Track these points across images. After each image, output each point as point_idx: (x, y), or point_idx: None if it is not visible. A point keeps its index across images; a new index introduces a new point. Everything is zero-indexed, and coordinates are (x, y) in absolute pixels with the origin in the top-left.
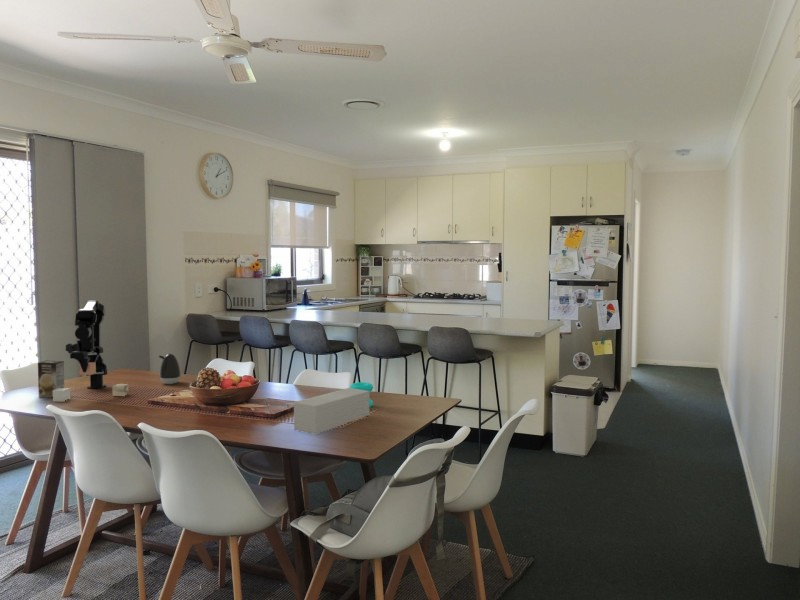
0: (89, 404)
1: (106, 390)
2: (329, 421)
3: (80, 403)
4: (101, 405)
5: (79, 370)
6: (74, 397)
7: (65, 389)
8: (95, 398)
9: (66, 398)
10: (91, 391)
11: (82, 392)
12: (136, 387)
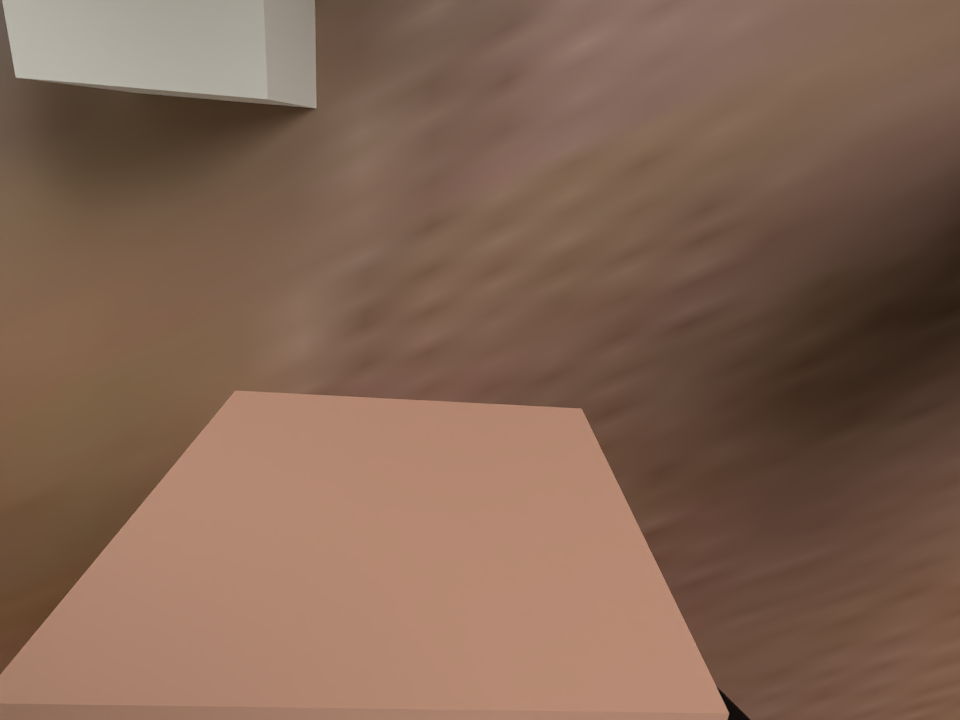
0: (25, 512)
1: (853, 387)
2: None
3: (53, 389)
4: (8, 643)
5: (174, 473)
6: (421, 131)
7: (125, 64)
8: None
9: (196, 97)
10: (835, 207)
11: (789, 93)
12: (940, 639)
